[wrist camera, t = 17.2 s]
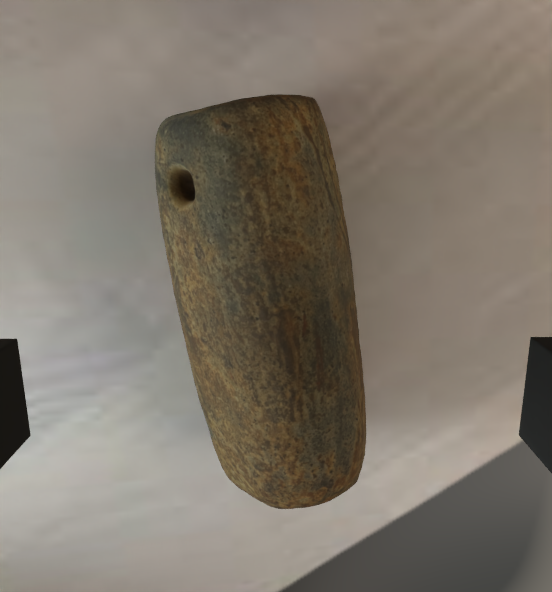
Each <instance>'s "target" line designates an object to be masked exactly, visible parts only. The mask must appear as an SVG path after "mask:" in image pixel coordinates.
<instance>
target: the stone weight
mask: <svg viewBox="0 0 552 592" xmlns="http://www.w3.org/2000/svg"><path fill="white" fill-rule="evenodd" d="M155 174H156V187H157V195H158V204H159V210H160V218H161V224H162V231H163V237H164V241H165V247H166V253H167V259H168V263H169V267H170V273H171V277H172V283H173V288H174V295H175V298H176V303H177V307H178V312H179V316H180V320H181V325H182V330H183V333H184V337H185V342H186V346H187V351H188V355H189V359H190V364H191V368H192V372H193V376H194V381H195V385H196V388H197V392H198V396H199V400H200V403H201V406H202V409H203V412H204V415H205V418H206V421H207V424H208V427H209V431H210V435H211V439H212V442H213V445H214V448H215V451H216V453H217V456H218V458H219V461H220V463H221V466H222V468H223V470H224V471H225V473H226V475H227V476H228V478H229V479H230V480H231V481H232V482H233V483H234V484H235V485H236V486H237V487H239V488H240V489H241V490H244V491H245V492H247V493H248V494H249V495H251V496H252V497H254V498H256V499H257V500H259V501H261V502H263V503H265V504H267V505H269V506H271V507H275V508H278V509H293V508H305V507H311V506H315V505H319V504H322V503H325V502H328V501H330V500H332V499H334V498H335V497H337V496H339V495H340V494H342V493H344V492H345V491H347V490H348V489H349V488H350V487H352V486H353V485H354V484H355V483H356V482H357V480H358V477H359V474H360V471H361V468H362V463H363V459H364V456H365V444H366V412H365V392H364V383H363V370H362V359H361V350H360V344H359V329H358V321H357V309H356V303H355V291H354V282H353V271H352V261H351V253H350V247H349V240H348V232H347V226H346V221H345V217H344V211H343V205H342V196H341V192H340V187H339V180H338V175H337V171H336V165H335V161H334V158H333V153H332V148H331V144H330V139H329V135H328V132H327V128H326V125H325V122H324V119H323V116H322V114H321V111H320V108H319V106H318V104H317V102H316V101H315V99H313V98H311V97H306V96H301V95H266V96H259V97H252V98H244V99H239V100H234V101H231V102H226V103H222V104H218V105H214V106H210V107H206V108H202V109H199V110H194V111H190V112H186V113H181V114H176V115H174V116H171V117H168V118H166V119H165V120H164V121H163V122H162V124H161V125H160V127H159V129H158V132H157V136H156V145H155Z"/></svg>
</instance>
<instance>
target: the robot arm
mask: <svg viewBox="0 0 552 592" xmlns="http://www.w3.org/2000/svg"><path fill="white" fill-rule="evenodd" d="M519 436H520V437H521V438H522V439H523V440H524V442H525V443H526V444H527V445H528V446H529V447H530V449H531V450H532V451H533V452H534V453H535V454H536V456H537V457H538V458H539V459H540V460H541V461H542V463H543V464H544V465H545V466H546V467H547V468H548V470H549V471H550V472H551V473H552V337H531V339H530V347H529V355H528V364H527V372H526V380H525V388H524V397H523V405H522V413H521V421H520V430H519ZM29 437H30V429H29V421H28V414H27V407H26V400H25V392H24V385H23V378H22V371H21V364H20V356H19V349H18V342H17V339H0V468H1V467H2V466H3V465H4V464H5V463H6V462H7V461H8V460H9V459H10V457H11V456H12V455H13V454H14V453H15V452H16V451H17V450H18V449H19V448H20V446H21V445H22V444H23V443H24V442H25V441H26V440H27V439H28V438H29Z"/></svg>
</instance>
